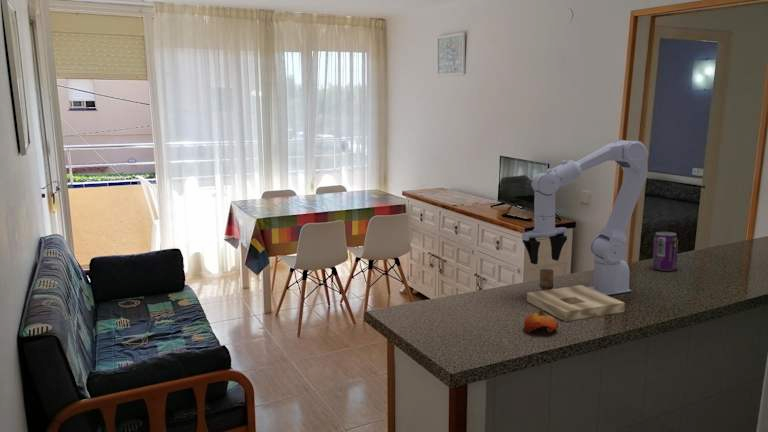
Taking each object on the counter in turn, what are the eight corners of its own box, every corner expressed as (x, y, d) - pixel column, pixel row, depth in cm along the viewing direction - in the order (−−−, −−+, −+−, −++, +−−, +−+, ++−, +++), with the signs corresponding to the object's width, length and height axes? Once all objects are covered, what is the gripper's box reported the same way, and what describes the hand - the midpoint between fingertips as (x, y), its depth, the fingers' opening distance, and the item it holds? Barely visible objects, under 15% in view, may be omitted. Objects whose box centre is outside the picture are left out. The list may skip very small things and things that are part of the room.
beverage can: (680, 271, 186) (682, 235, 184) (658, 272, 186) (660, 236, 184) (670, 266, 193) (671, 231, 191) (648, 266, 193) (650, 231, 191)
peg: (548, 291, 171) (548, 268, 169) (556, 294, 167) (556, 271, 166) (536, 292, 169) (537, 269, 168) (544, 296, 166) (544, 272, 165)
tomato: (568, 326, 137) (550, 307, 135) (553, 349, 135) (535, 330, 133) (546, 321, 145) (528, 303, 143) (531, 343, 143) (513, 325, 141)
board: (581, 293, 167) (581, 285, 167) (624, 311, 150) (624, 302, 150) (526, 301, 162) (526, 292, 161) (565, 321, 145) (565, 311, 144)
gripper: (555, 211, 170) (555, 255, 172) (515, 216, 164) (515, 262, 167) (572, 214, 164) (571, 260, 166) (530, 219, 158) (531, 267, 160)
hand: (544, 261), depth 166 cm, fingers open, 7 cm apart
